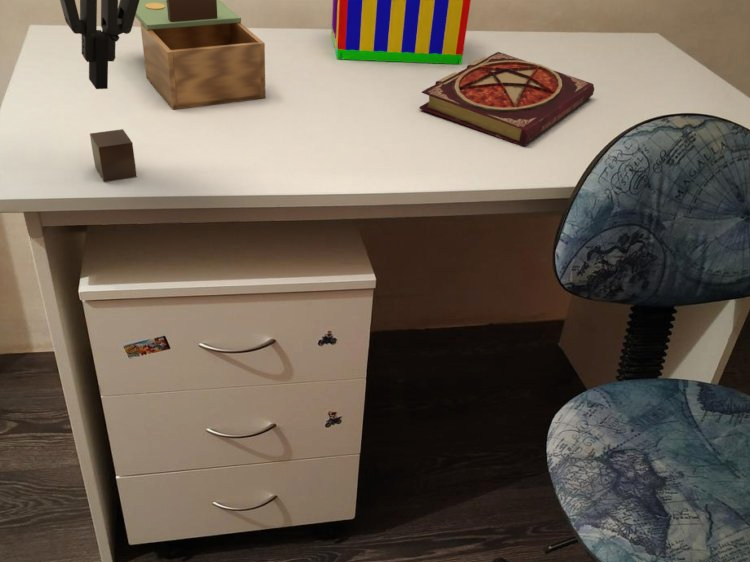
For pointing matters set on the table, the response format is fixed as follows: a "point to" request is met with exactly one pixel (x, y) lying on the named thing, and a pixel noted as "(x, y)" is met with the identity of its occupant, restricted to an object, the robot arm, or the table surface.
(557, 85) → the book
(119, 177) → the block
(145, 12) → the lid
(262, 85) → the wooden open box
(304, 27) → the table surface
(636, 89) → the table surface
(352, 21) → the toy house
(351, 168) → the table surface
